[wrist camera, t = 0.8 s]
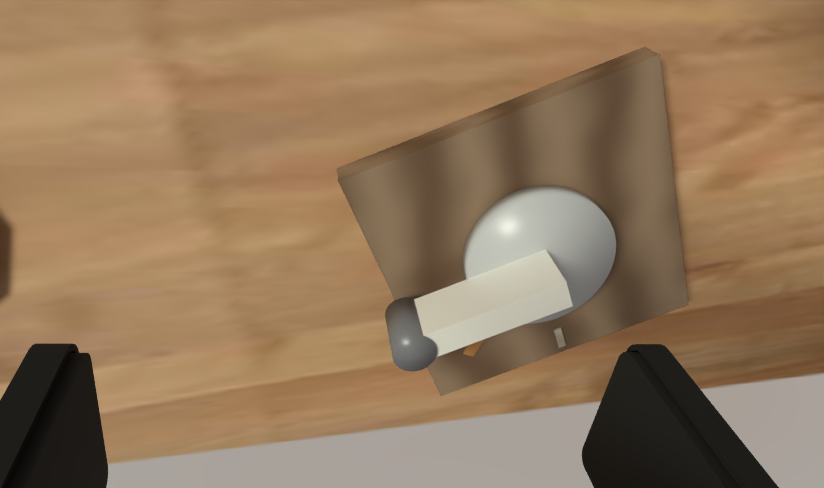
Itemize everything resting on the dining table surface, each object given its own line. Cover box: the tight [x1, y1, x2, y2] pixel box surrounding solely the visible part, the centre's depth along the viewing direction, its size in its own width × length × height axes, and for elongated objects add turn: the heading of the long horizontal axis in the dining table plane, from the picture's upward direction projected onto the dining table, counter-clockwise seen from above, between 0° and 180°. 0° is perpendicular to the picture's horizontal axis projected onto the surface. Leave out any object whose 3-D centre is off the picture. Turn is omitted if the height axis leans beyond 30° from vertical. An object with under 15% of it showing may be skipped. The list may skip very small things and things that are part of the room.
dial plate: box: [337, 47, 689, 396], centre depth 46 cm, size 22×22×2 cm
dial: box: [385, 185, 616, 371], centre depth 42 cm, size 18×11×6 cm, turn 110°
